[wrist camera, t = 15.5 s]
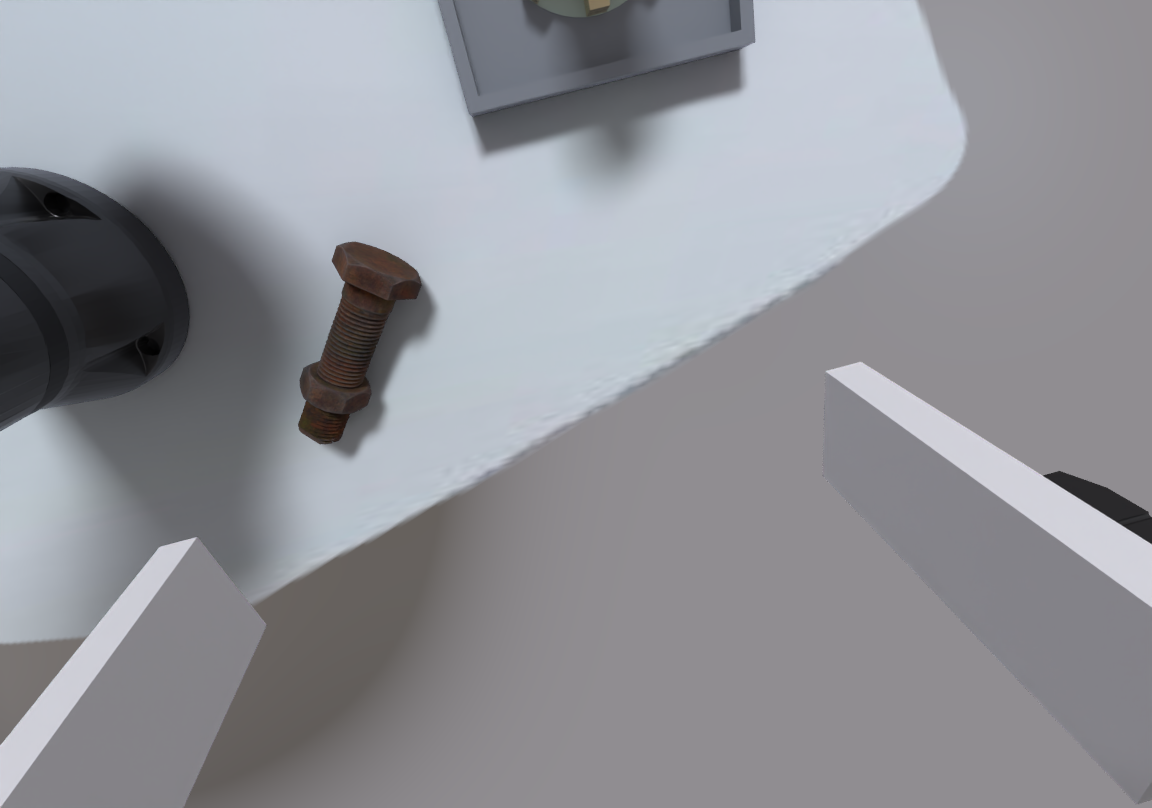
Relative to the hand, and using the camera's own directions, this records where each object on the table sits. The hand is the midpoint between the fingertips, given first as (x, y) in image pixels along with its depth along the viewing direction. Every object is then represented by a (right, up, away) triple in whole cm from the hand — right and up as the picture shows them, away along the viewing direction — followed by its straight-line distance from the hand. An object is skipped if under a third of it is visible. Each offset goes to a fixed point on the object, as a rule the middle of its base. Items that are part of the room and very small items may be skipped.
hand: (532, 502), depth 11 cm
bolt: (-16, +7, +29) cm, 34 cm away
